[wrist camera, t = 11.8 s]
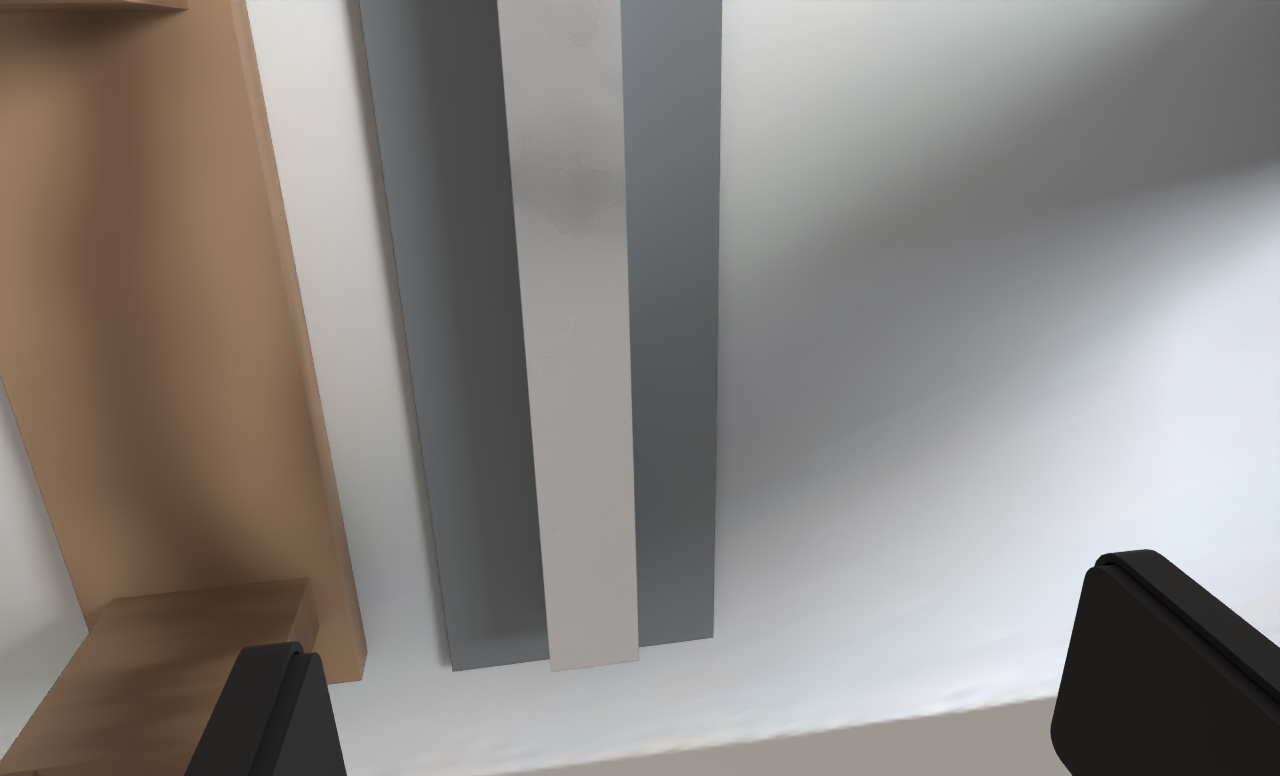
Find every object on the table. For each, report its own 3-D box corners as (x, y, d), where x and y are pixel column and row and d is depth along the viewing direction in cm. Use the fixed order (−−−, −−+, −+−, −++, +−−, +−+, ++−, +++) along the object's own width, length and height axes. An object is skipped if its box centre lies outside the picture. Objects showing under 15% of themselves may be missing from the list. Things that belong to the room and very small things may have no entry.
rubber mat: (720, -225, 22) (725, -231, 21) (710, 629, 33) (712, 637, 32) (329, -235, 20) (325, -241, 20) (453, 662, 31) (452, 671, 31)
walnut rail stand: (209, -188, 20) (-61, -419, 10) (367, 651, 30) (306, 944, 20) (-154, -195, 19) (-848, -458, 9) (134, 681, 29) (-51, 1007, 19)
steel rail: (599, -141, 22) (615, -170, 19) (625, 606, 31) (639, 660, 28) (484, -143, 21) (483, -172, 18) (545, 616, 30) (551, 671, 28)
